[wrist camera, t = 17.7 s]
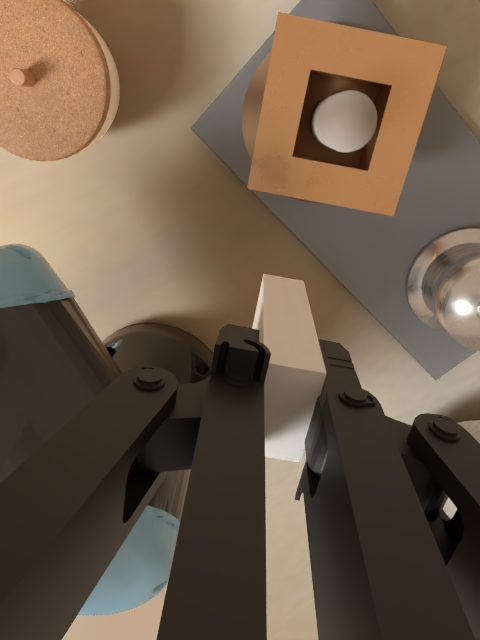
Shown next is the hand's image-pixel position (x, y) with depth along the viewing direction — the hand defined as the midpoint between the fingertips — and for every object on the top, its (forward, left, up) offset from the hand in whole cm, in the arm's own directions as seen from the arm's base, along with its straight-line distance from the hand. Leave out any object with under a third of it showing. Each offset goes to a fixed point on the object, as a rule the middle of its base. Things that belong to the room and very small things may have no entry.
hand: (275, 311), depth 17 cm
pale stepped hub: (-4, -19, -25) cm, 32 cm away
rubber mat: (+2, -11, -26) cm, 29 cm away
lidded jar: (+6, +18, -27) cm, 33 cm away
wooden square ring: (+7, -3, -18) cm, 20 cm away
